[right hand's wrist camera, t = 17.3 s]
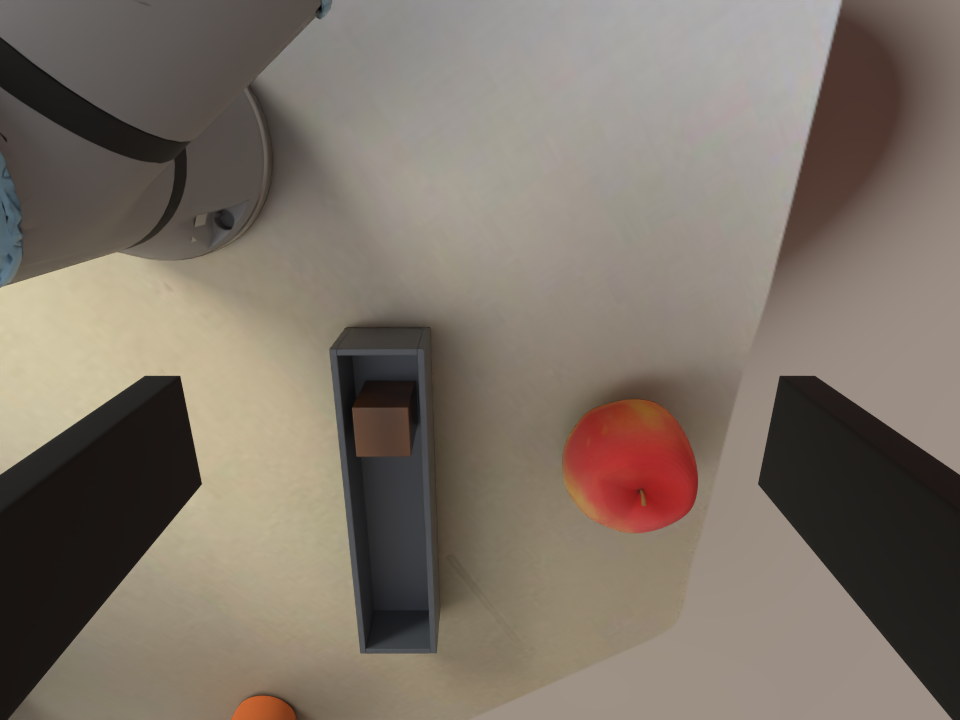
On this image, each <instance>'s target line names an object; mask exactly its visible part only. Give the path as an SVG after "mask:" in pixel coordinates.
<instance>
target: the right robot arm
mask: <svg viewBox="0 0 960 720" xmlns="http://www.w3.org/2000/svg"><path fill="white" fill-rule="evenodd" d="M331 3H332V0H0V288H1V287H3V286H6V285H9V284H13V283H16V282H19V281H22V280H26V279H29V278H32V277H36V276H39V275H42V274H46V273H49V272H52V271H55V270H59V269H62V268H65V267H69V266H72V265H75V264H79V263H82V262H85V261H88V260H92V259H95V258H98V257H102V256H105V255H108V254H112V253H115V252H119V253H124V254H128V255H132V256H137V257H141V258H146V259H153V260H184V259H191V258H195V257H199V256H203V255H205V254H208V253H210V252H213V251H216V250H218V249H220V248H222V247H224V246H226V245H228V244H230V243H231V242H233V241H234V240H236V239H237V238H238V237H239V236H241V235H242V234H243V233H244V232H245V231H246V230H247V229H248V228H249V227H250V226H251V224H252V223H253V222H254V220H255V219H256V217H257V216H258V214H259V212H260V211H261V209H262V207H263V204H264V202H265V200H266V197H267V194H268V191H269V186H270V182H271V175H272V146H271V140H270V134H269V131H268V127H267V123H266V120H265V117H264V114H263V112H262V109H261V107H260V105H259V103H258V100H257V98H256V97H255V95H254V93H253V91H252V89H251V88H250V86H249V84H250V83H251V82H252V81H253V80H254V79H255V78H256V77H257V76H258V75H259V74H260V73H261V72H262V71H263V70H264V69H265V68H266V67H267V66H268V65H269V64H270V63H271V62H272V61H273V60H274V59H275V58H276V57H277V56H278V55H279V54H280V53H281V52H282V51H283V49H284V48H285V47H286V46H287V45H288V44H289V43H290V42H291V41H292V40H293V39H294V38H295V37H296V36H297V35H298V34H299V33H300V32H301V31H302V30H303V29H304V28H305V27H306V26H307V25H308V24H309V23H310V22H311V21H312V20H313V19H314V18H315V17H317V18H318V19H322V18H323V17H324V16H325V15H326V14H327V13H328V11H329V10H330V8H331ZM201 485H202V482H201V477H200V472H199V467H198V462H197V457H196V452H195V447H194V442H193V437H192V432H191V427H190V422H189V417H188V412H187V407H186V403H185V398H184V393H183V388H182V383H181V378H180V376H144V377H143V378H141V379H140V380H138V381H137V382H136V383H134V384H133V385H131V386H130V387H128V388H127V389H125V390H124V391H122V392H121V393H119V394H118V395H117V396H115V397H114V398H112V399H111V400H109V401H108V402H106V403H105V404H103V405H102V406H100V407H99V408H97V409H96V410H95V411H93V412H92V413H90V414H89V415H87V416H86V417H84V418H83V419H81V420H80V421H78V422H77V423H76V424H74V425H73V426H71V427H70V428H68V429H67V430H65V431H64V432H62V433H61V434H59V435H58V436H57V437H55V438H54V439H52V440H51V441H49V442H48V443H46V444H45V445H43V446H42V447H40V448H39V449H37V450H36V451H35V452H33V453H32V454H30V455H29V456H27V457H26V458H24V459H23V460H21V461H20V462H18V463H17V464H16V465H14V466H13V467H11V468H10V469H8V470H7V471H5V472H4V473H2V474H1V475H0V720H8V718H9V717H10V716H11V715H12V714H13V712H14V711H15V710H16V709H17V708H18V706H19V705H20V704H21V703H22V702H23V700H24V699H25V698H26V697H27V695H28V694H29V693H30V692H31V691H32V689H33V688H34V687H35V686H36V685H37V683H38V682H39V681H40V680H41V679H42V677H43V676H44V675H45V674H46V672H47V671H48V670H49V669H50V668H51V666H52V665H53V664H54V663H55V662H56V660H57V659H58V658H59V657H60V655H61V654H62V653H63V652H64V651H65V649H66V648H67V647H68V646H69V645H70V643H71V642H72V641H73V640H74V639H75V637H76V636H77V635H78V634H79V632H80V631H81V630H82V629H83V628H84V626H85V625H86V624H87V623H88V622H89V620H90V619H91V618H92V617H93V615H94V614H95V613H96V612H97V611H98V609H99V608H100V607H101V606H102V605H103V603H104V602H105V601H106V600H107V599H108V597H109V596H110V595H111V594H112V592H113V591H114V590H115V589H116V588H117V586H118V585H119V584H120V583H121V582H122V580H123V579H124V578H125V577H126V576H127V574H128V573H129V572H130V571H131V569H132V568H133V567H134V566H135V565H136V563H137V562H138V561H139V560H140V559H141V557H142V556H143V555H144V554H145V552H146V551H147V550H148V549H149V548H150V546H151V545H152V544H153V543H154V542H155V540H156V539H157V538H158V537H159V536H160V534H161V533H162V532H163V531H164V529H165V528H166V527H167V526H168V525H169V523H170V522H171V521H172V520H173V519H174V517H175V516H176V515H177V514H178V513H179V511H180V510H181V509H182V508H183V506H184V505H185V504H186V503H187V502H188V500H189V499H190V498H191V497H192V496H193V494H194V493H195V492H196V491H197V489H198V488H199V487H200V486H201ZM758 485H759V486H760V487H761V488H762V489H763V491H764V492H765V493H766V494H767V495H768V497H769V498H770V499H771V500H772V502H773V503H774V504H775V505H776V506H777V508H778V509H779V510H780V511H781V513H782V514H783V515H784V516H785V517H786V518H787V520H788V521H789V522H790V523H791V525H792V526H793V527H794V528H795V529H796V531H797V532H798V533H799V534H800V536H801V537H802V538H803V539H804V540H805V542H806V543H807V544H808V545H809V546H810V548H811V549H812V550H813V551H814V552H815V554H816V555H817V556H818V557H819V559H820V560H821V561H822V562H823V563H824V565H825V566H826V567H827V568H828V569H829V571H830V572H831V573H832V574H833V576H834V577H835V578H836V579H837V580H838V582H839V583H840V584H841V585H842V586H843V588H844V589H845V590H846V591H847V592H848V594H849V595H850V596H851V597H852V598H853V600H854V601H855V602H856V603H857V605H858V606H859V607H860V608H861V609H862V611H863V612H864V613H865V614H866V616H867V617H868V618H869V619H870V620H871V622H872V623H873V624H874V625H875V626H876V628H877V629H878V630H879V631H880V632H881V634H882V635H883V636H884V637H885V639H886V640H887V641H888V642H889V643H890V645H891V646H892V647H893V648H894V649H895V651H896V652H897V653H898V654H899V655H900V657H901V658H902V659H903V660H904V662H905V663H906V664H907V665H908V666H909V668H910V669H911V670H912V671H913V672H914V674H915V675H916V676H917V677H918V679H919V680H920V681H921V682H922V683H923V685H924V686H925V687H926V688H927V689H928V691H929V692H930V693H931V694H932V695H933V697H934V698H935V699H936V700H937V702H938V703H939V704H940V705H941V706H942V708H943V709H944V710H945V711H946V712H947V714H948V715H949V716H950V717H951V718H952V720H960V475H959V474H958V473H956V472H955V471H953V470H952V469H950V468H949V467H947V466H946V465H944V464H943V463H942V462H940V461H939V460H937V459H936V458H934V457H933V456H931V455H930V454H928V453H927V452H925V451H924V450H922V449H921V448H920V447H918V446H917V445H915V444H914V443H912V442H911V441H909V440H908V439H906V438H905V437H903V436H902V435H901V434H899V433H898V432H896V431H895V430H893V429H892V428H890V427H889V426H887V425H886V424H884V423H883V422H882V421H880V420H879V419H877V418H876V417H874V416H873V415H871V414H870V413H868V412H867V411H865V410H864V409H863V408H861V407H860V406H858V405H857V404H855V403H854V402H852V401H851V400H849V399H848V398H846V397H845V396H843V395H842V394H841V393H839V392H838V391H836V390H835V389H833V388H832V387H830V386H829V385H827V384H826V383H824V382H823V381H822V380H820V379H819V378H817V377H816V376H780V378H779V383H778V388H777V393H776V398H775V403H774V408H773V412H772V417H771V422H770V427H769V432H768V437H767V443H766V447H765V452H764V457H763V462H762V467H761V472H760V477H759V482H758Z"/></svg>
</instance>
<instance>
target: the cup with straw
mask: <svg viewBox="0 0 960 720" xmlns="http://www.w3.org/2000/svg"><path fill="white" fill-rule="evenodd" d="M231 720H296V716H295V713H294V711H293V709H292V708H291V707H290V706H289V705H288V704H287V703H285V702H284V701H282V700H280V699H278V698H275V697H271V696H254V697H251V698H248V699H246V700H245V701H243V702H242V703H241V704H240V705H239V706H238V708H237V710H236V711H235V713H234V715H233V717H232V719H231Z"/></svg>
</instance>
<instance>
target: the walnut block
mask: <svg viewBox="0 0 960 720" xmlns="http://www.w3.org/2000/svg"><path fill="white" fill-rule="evenodd" d="M352 412H353V423H354V434H355V445H356V456H357V457H410V456H411V453H412V449H413V444H414V440H415V435H416V431H417V427H418V419H417V398H416V381H365V383H364V385H363V387H362V389H361V391H360V393H359V395H358V397H357V399H356V401H355V403H354V405H353V407H352Z"/></svg>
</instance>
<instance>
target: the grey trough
mask: <svg viewBox="0 0 960 720" xmlns="http://www.w3.org/2000/svg"><path fill="white" fill-rule="evenodd" d="M329 350H330V360H331V370H332V380H333V389H334V399H335V409H336V419H337V428H338V438H339V448H340V458H341V468H342V477H343V487H344V497H345V507H346V516H347V526H348V536H349V546H350V556H351V565H352V575H353V585H354V595H355V604H356V614H357V624H358V634H359V644H360V653H436V652H437V641H438V629H439V618H440V589H439V561H438V533H437V504H436V476H435V448H434V419H433V391H432V363H431V335H430V328H345V329H344V330H343V332H342V333H341V334H340V336H339V337H338V338H337V340H336V341H335V343H334V344H333V345H332V347H331V348H330V349H329ZM365 381H416V398H417V419H418V427H417V431H416V435H415V440H414V444H413V449H412V453H411V456H410V457H357V456H356V445H355V434H354V423H353V412H352V407H353V405H354V403H355V401H356V399H357V397H358V395H359V393H360V391H361V389H362V387H363V385H364V383H365Z"/></svg>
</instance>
